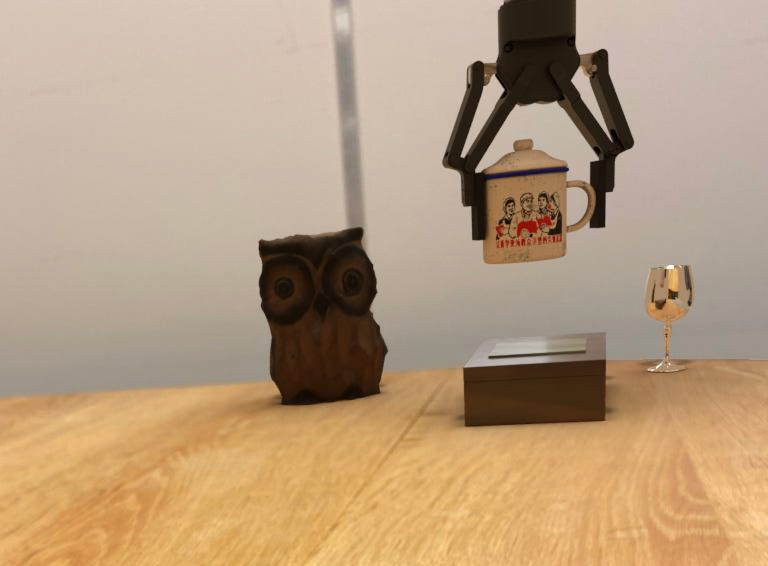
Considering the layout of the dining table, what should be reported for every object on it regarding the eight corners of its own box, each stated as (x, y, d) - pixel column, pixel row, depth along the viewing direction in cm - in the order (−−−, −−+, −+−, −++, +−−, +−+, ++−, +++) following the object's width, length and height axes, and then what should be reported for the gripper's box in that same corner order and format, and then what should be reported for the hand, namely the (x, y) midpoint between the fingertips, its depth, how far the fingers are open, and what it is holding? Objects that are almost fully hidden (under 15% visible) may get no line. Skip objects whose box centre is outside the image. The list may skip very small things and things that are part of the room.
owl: (394, 391, 136) (384, 224, 129) (327, 409, 128) (313, 232, 120) (321, 387, 144) (309, 230, 137) (255, 404, 136) (237, 239, 129)
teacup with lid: (489, 266, 109) (487, 141, 104) (474, 262, 117) (470, 147, 113) (607, 254, 108) (609, 128, 104) (583, 251, 117) (584, 135, 112)
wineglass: (688, 364, 133) (692, 263, 129) (693, 371, 128) (698, 266, 124) (640, 367, 135) (643, 267, 130) (643, 374, 130) (646, 271, 125)
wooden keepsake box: (485, 390, 130) (484, 338, 128) (604, 383, 126) (605, 330, 124) (464, 426, 110) (462, 365, 108) (605, 420, 107) (606, 357, 104)
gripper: (421, 2, 100) (431, 246, 108) (673, -21, 101) (665, 222, 109) (407, 17, 107) (417, 245, 115) (642, -5, 108) (637, 222, 116)
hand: (538, 234), depth 112 cm, fingers closed on teacup with lid, 12 cm apart
